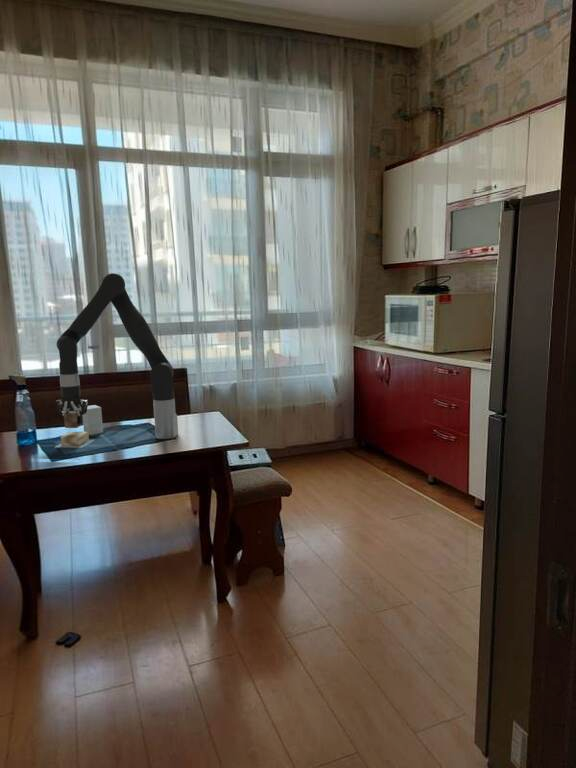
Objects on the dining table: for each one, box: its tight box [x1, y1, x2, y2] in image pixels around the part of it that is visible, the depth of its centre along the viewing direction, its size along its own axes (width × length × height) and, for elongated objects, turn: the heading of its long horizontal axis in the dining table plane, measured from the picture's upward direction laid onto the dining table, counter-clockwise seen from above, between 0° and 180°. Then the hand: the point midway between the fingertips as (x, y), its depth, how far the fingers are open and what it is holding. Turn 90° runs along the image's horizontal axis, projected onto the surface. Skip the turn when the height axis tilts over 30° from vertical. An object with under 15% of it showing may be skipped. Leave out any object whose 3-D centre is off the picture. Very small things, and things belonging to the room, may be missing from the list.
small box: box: [82, 404, 104, 436], centre depth 234 cm, size 8×6×13 cm
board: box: [55, 438, 96, 449], centre depth 218 cm, size 12×12×1 cm
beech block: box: [60, 431, 90, 446], centre depth 217 cm, size 8×8×4 cm
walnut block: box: [63, 410, 83, 429], centre depth 216 cm, size 5×5×6 cm
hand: (73, 424), depth 216 cm, fingers closed on walnut block, 5 cm apart
